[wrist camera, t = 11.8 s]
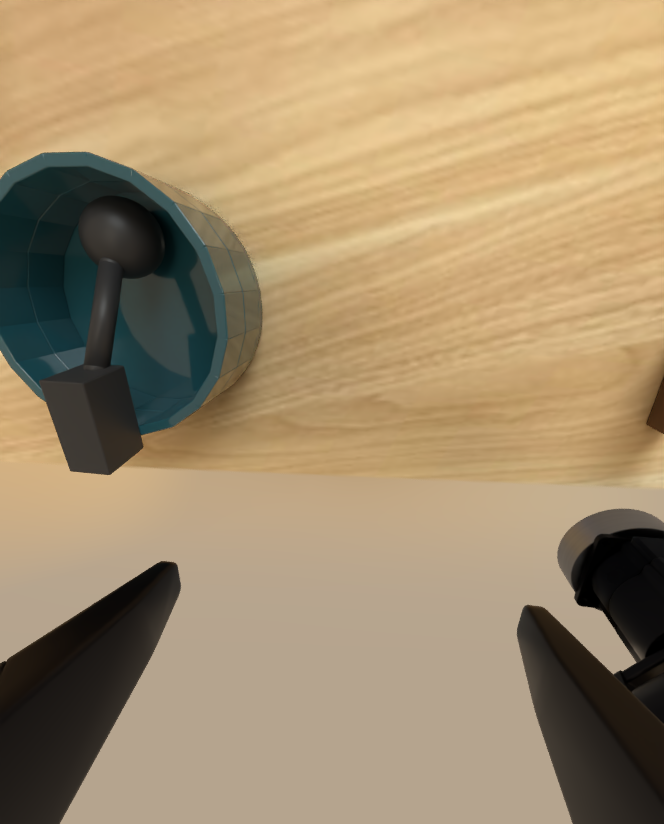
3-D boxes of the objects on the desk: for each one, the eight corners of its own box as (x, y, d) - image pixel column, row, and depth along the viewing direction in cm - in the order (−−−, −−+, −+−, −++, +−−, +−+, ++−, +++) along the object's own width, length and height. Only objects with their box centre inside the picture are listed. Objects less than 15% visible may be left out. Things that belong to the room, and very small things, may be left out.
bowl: (267, 408, 22) (236, 443, 17) (90, 396, 23) (18, 426, 19) (256, 183, 18) (211, 148, 13) (40, 185, 19) (-70, 154, 14)
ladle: (107, 200, 18) (-59, 170, 11) (172, 200, 18) (42, 169, 11) (151, 405, 23) (54, 470, 16) (203, 409, 22) (126, 477, 16)
